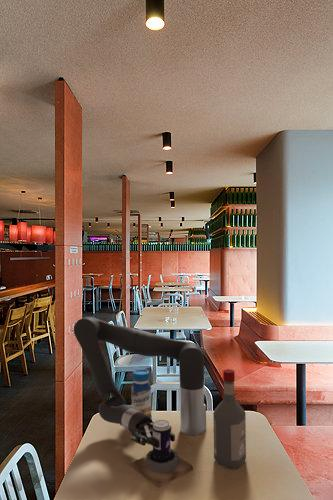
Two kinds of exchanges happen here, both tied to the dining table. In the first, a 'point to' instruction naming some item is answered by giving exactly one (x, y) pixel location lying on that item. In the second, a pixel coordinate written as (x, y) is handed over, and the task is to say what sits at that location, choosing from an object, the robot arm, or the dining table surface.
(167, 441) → the beverage can
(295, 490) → the dining table surface
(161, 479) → the base plate
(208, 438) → the dining table surface
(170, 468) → the collar
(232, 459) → the liquor
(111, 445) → the dining table surface
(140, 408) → the beverage bottle
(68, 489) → the dining table surface
